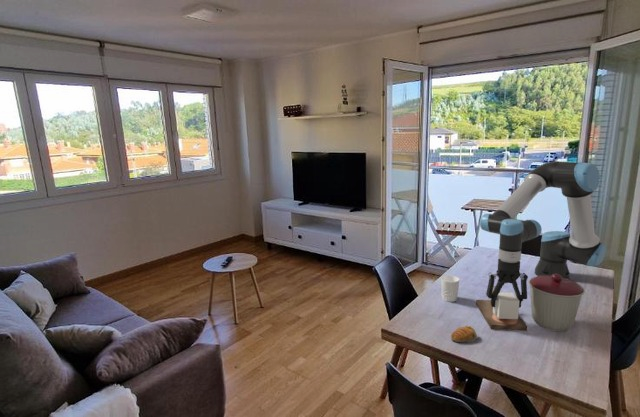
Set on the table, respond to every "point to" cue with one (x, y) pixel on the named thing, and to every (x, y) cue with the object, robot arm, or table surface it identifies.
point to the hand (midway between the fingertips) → (505, 314)
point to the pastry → (464, 334)
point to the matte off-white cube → (507, 306)
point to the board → (495, 321)
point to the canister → (554, 301)
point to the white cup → (449, 287)
